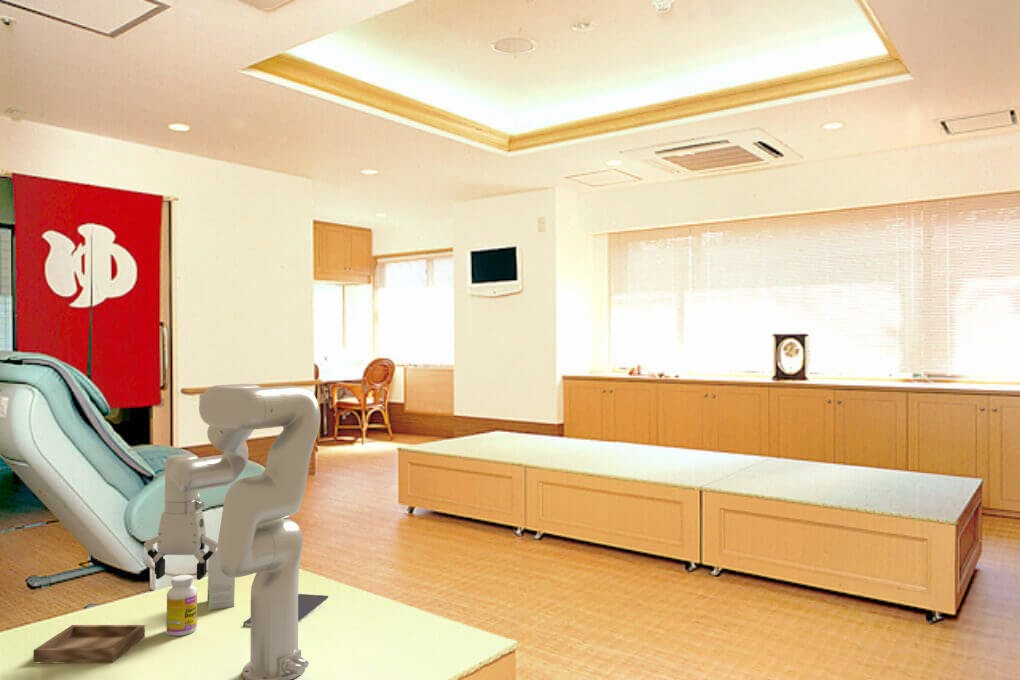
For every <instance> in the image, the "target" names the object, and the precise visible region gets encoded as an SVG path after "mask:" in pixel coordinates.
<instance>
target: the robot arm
mask: <svg viewBox="0 0 1020 680" xmlns="http://www.w3.org/2000/svg"><path fill="white" fill-rule="evenodd" d="M320 408H321V407H320V404H319V402H318V399H317V397H316V396H315V394H314V393H313V392H312V391H311V390H309V389H308V388H306V387H302V386H299V385H298V386H297V385H274V386H260V385H258V384H254V383H233V384H218V385H213V386H210V387H209V388H207V390H205V391H204V393H203V394H202V396H201V398H200V400H199V404H198V411H199V415H200V418H201V419H202V421H203V422H204V423H205V424H206V425H209V426H208V428H207V431H206V433H207V434H206V435H207V438H208V441H209V442H210V444H211V445H212V446H213V447H214V448H216V449H218V450H219V451H221V452H223V453H222V454H218V455H210V456H203V457H198V455H197V454H196V455H195V454H191V453H179V454H172V455H170V456H168V457H167V458H166V460H165V463H164V469H165V470H164V511H163V512H162V513H161V516H160V520H159V524H158V531H157V536H154V537H152V538H151V539H149V540H147V541H145V542H144V543H143V547H144V548H145V551H147V555H148V556H149V557H150V558H151V559H152V562H153V563H154V575H155V580H160V579H161V578H163V577H164V576H165V575H166V560H165V558H164V557H165V556H194V557H195V559H197V561H198V562H197V564H196V580H197V581H200V580H202V579H203V578H204V577H205V575H206V574H207V572H208V568H207V566H208V565H207V563H208V562H207V561H208V559H209V558H210V557H211V556H212V555H213V554H214V552H215V550H216V548H217V560H218V564H219V567H220V569H221V571H222V572H223V573H224V574H225V575H227V576H229V577H235V578H241V577H246V576H250V575H252V574H254V578H253V581H252V584H251V589H250V617H251V627H250V661H248V663H246V664H245V665H244V666H243V669H242V678H243V679H244V680H293V679H296V678H297V677H299V676H301V675H303V674H304V672H305V669H307V667H308V666H309V660H306V659H305V658H303V657H302V649H300V648H299V624H298V594H299V577H300V575H299V573H300V564H301V558H302V554H303V548H304V534H303V531H302V528H301V527H300V525H299V524H298V523H297V522H295V521H293V520H292V519H287V518H289V517H291V516H294V515H296V514H297V513H298V512H299V511H300V510H301V508H302V505H303V503H304V502H303V501H304V497H305V492H306V488H307V487H306V486H307V480H308V476H309V475H308V474H309V470H310V462H311V457H312V453H313V449H314V447H315V443H316V440H317V439H318V434H319V430H320V427H321V410H320ZM280 427H282V428H283V430H281V432H280V433H279V434H278V435H277V436H276V438H274V441H273V443H272V444H271V446H270V447H269V451H268V454H267V458H266V459H267V460H266V465H265V467H264V468H265V469H264V471H263V472H262V473H261V474H260V475H254V476H247V477H244V478H241V479H238V478H239V476H240V475H241V474H242V472H244V470H245V468H246V467H247V464H248V461H249V446H248V444H247V441H248V439H249V438H250V436H251V435H252V434H253V432H254V431H255V430H263V429H273V428H280ZM237 479H238V480H237ZM229 485H231V486H230V487H229V489H228V490H227V492H226V493H225V498H224V502H223V507H222V513H221V520H220V525H219V531H218V532H219V534H218V540H217V541H215V540H213V539H211V538H210V537H208V536H207V535H206V532H207V531H206V524H205V516H204V513H203V510H201V509H202V508H203V509H204V508H205V506H206V505H205V502H204V501H201V498H200V492H201V491H204V490H211V489H215V488H216V489H217V488H222V487H227V486H229ZM217 542H218V543H217ZM156 543H157V544H156ZM154 544H156V545H157V546H156V549H155V548H154ZM206 546H208V551H207V552H206V551H205V549H206Z"/></svg>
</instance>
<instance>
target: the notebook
mask: <svg viewBox="0 0 1020 680" xmlns="http://www.w3.org/2000/svg"><path fill="white" fill-rule="evenodd" d="M328 598H329V595H321V594H310V593H309V594H308V593H307V594H304V593H298V623H300V622H301V621H302V620H303V619H305V618H306V617H307V616H308V615H309V614H311V613H312V612H313V611H314V610H315V609H316V608H317V607H318V606H320V605H321V604H322V603H323V602H324V601H326V600H327V599H328ZM328 600H329V599H328ZM314 612H315V611H314ZM314 612H313V613H314ZM313 613H312V614H313ZM312 614H311V615H312ZM309 616H310V615H309ZM309 616H308V617H309ZM308 617H307V618H308ZM307 618H306V619H307ZM306 619H305V620H306ZM303 621H304V620H303ZM303 621H302V622H303ZM302 622H301V623H302ZM301 623H300V624H301ZM249 626H251V616H250V617H249V618H248V619H246V620H245V621H243V627H249Z"/></svg>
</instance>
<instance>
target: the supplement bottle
mask: <svg viewBox="0 0 1020 680" xmlns="http://www.w3.org/2000/svg"><path fill="white" fill-rule="evenodd" d="M193 582H194V576H193V575H191V574H180V575H176V576H174V577H172V578H171V586H172V587H171V588H169V589H168V590H167V593H166V634H167V635H168V636H173V637H180V636H187V635H190V634H192V633H194V632H195V631H196V629H197V627H198V625H197V624H198V619H197V618H198V589H197V587H195V586H194V585H193Z"/></svg>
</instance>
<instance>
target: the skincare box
mask: <svg viewBox="0 0 1020 680" xmlns="http://www.w3.org/2000/svg"><path fill="white" fill-rule="evenodd" d="M216 542H217V543H218V541H216ZM207 561H208V562H207V563H208V565H207V566H208V568H207V606H208V611H212V610H213V611H214V610H218V609H226V608H234V607H235V585H236V584H235V583H236V582H235V581H236V577H229V576H227V575H225V574H224V573H223V572H222V571H221V569H220V567H219V564H218V560H217V548H216V550H215V552H214V554H213V555H212V556H211V557H210V558H209V559H208V560H207Z"/></svg>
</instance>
